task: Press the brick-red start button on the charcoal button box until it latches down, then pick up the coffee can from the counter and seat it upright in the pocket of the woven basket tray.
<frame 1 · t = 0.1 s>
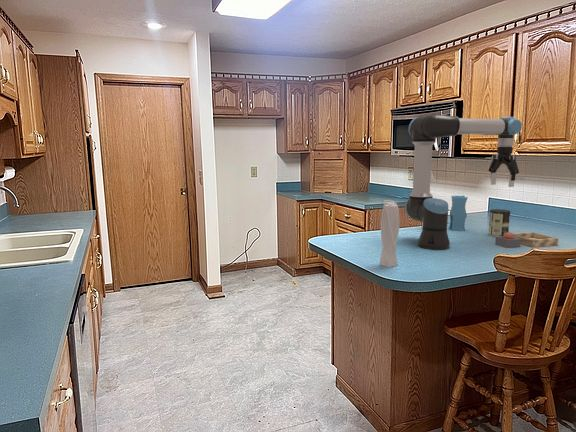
hand: (501, 185, 235), 28 cm above the counter, tool pointing down, fingers open, 13 cm apart
coffee can: (497, 235, 240), on the counter
button box: (507, 245, 216), on the counter
start button: (508, 237, 215), point 4 cm above the counter, slide at 0.0 cm
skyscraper: (388, 265, 181), on the counter
woven basket tray: (532, 242, 222), on the counter
coffee box: (431, 230, 254), on the counter
vase: (456, 229, 256), on the counter
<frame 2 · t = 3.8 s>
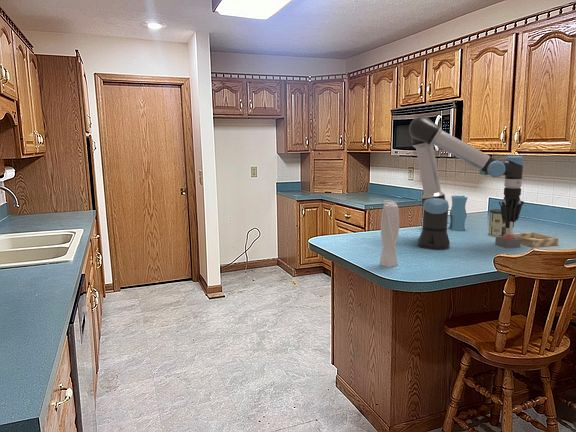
hand: (508, 234, 215), 6 cm above the counter, tool pointing down, fingers closed
start button: (508, 238, 215), point 4 cm above the counter, slide at 0.7 cm, touching gripper
everything else where it was.
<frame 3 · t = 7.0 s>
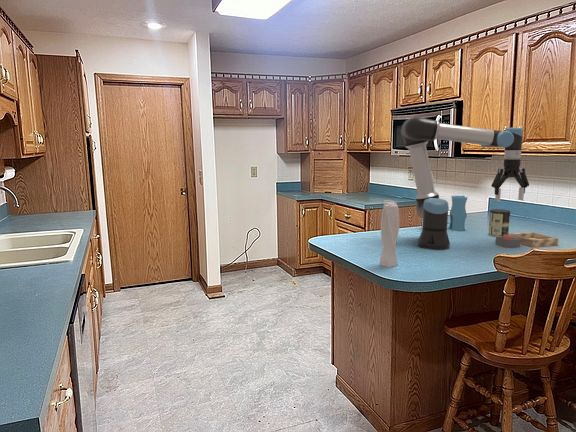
hand: (509, 200, 219), 22 cm above the counter, tool pointing down, fingers open, 13 cm apart
start button: (508, 239, 215), point 3 cm above the counter, slide at 1.1 cm
everything else where it was.
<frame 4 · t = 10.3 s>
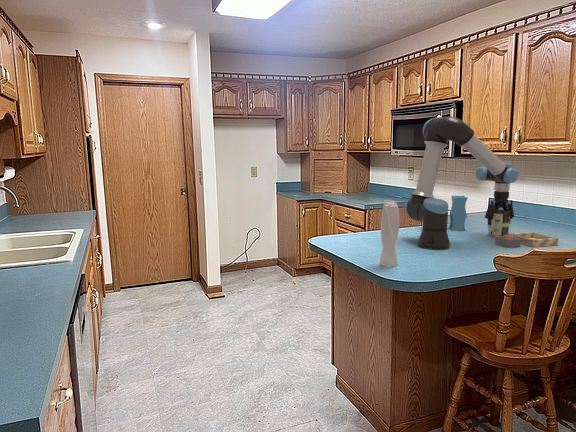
hand: (498, 230, 240), 3 cm above the counter, tool pointing down, fingers closed on coffee can, 10 cm apart
coffee can: (497, 235, 240), on the counter, touching gripper
everything else where it was.
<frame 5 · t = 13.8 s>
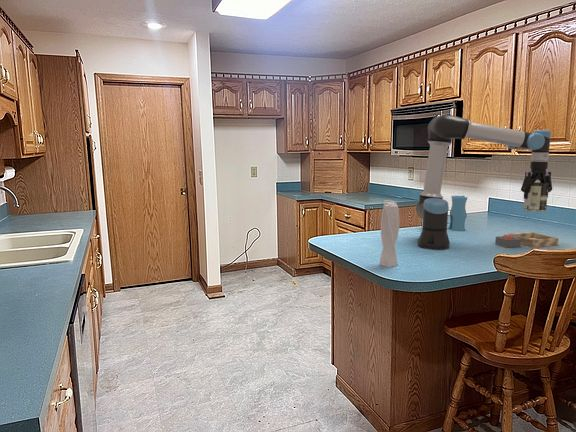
hand: (535, 204, 219), 20 cm above the counter, tool pointing down, fingers closed on coffee can, 10 cm apart
coffee can: (534, 210, 220), point 17 cm above the counter, touching gripper
everything else where it was.
when the fingers open (5 cm above the counter, at t = 17.6 s): coffee can drops 1 cm, resting on woven basket tray.
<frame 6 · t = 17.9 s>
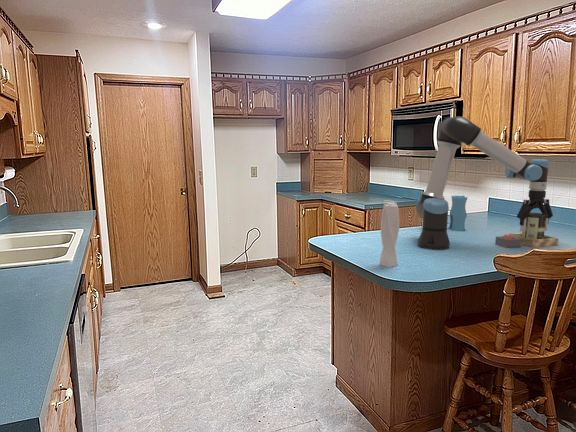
hand: (533, 231, 221), 6 cm above the counter, tool pointing down, fingers open, 13 cm apart
coffee can: (532, 241, 222), point 1 cm above the counter, touching woven basket tray
everything else where it was.
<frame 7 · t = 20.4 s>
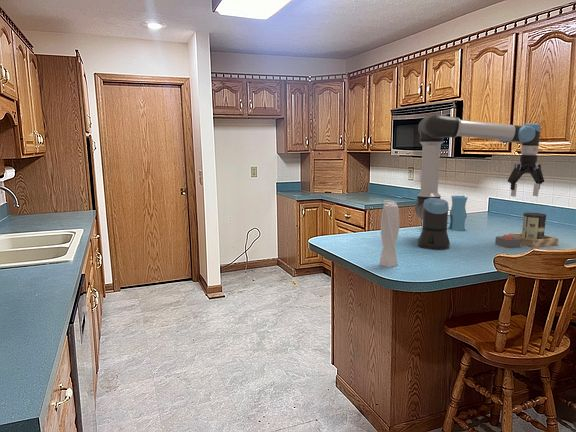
hand: (524, 196, 221), 24 cm above the counter, tool pointing down, fingers open, 13 cm apart
nothing on the counter moved.
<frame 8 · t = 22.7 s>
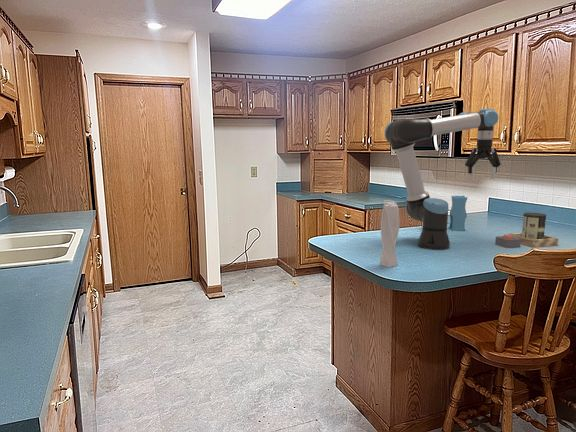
hand: (481, 179, 229), 32 cm above the counter, tool pointing down, fingers open, 13 cm apart
nothing on the counter moved.
at the end: start button slide at 1.1 cm; coffee can 0.1 cm off-centre on the woven basket tray, point 0.8 cm above the woven basket tray's base; coffee can tilted 0° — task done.
